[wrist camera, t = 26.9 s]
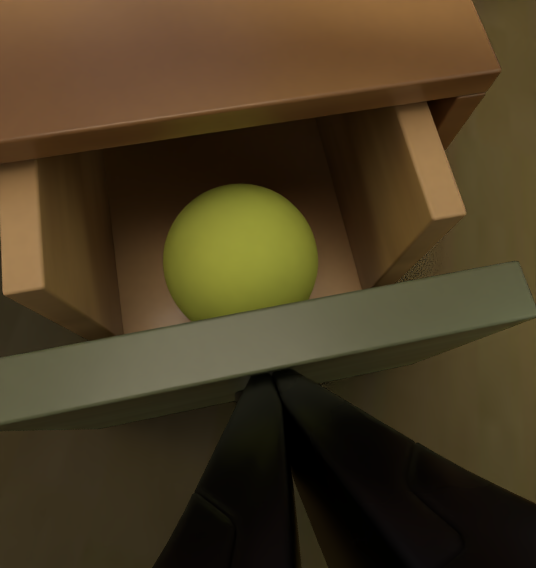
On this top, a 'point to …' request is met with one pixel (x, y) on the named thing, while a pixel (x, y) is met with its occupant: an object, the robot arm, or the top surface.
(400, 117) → the drawer
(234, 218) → the ball
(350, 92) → the cabinet
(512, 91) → the top surface
